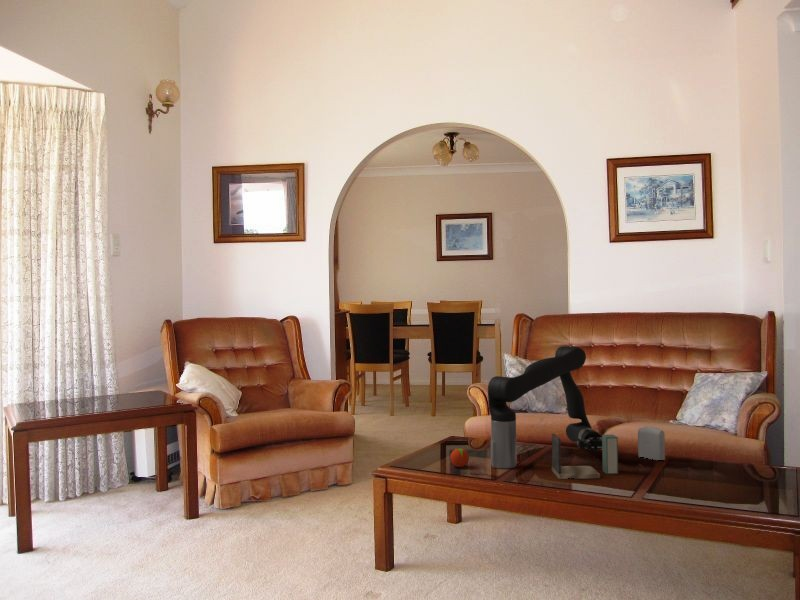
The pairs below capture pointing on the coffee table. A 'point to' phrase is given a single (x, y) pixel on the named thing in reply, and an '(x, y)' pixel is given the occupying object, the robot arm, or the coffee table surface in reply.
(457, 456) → the tomato
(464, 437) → the coffee table surface
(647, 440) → the photo printer
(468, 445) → the coffee table surface
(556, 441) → the desktop book rack
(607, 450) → the tall sage green prism
